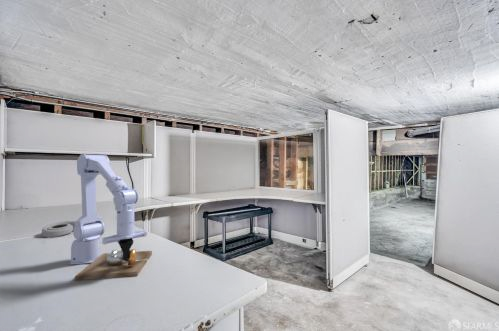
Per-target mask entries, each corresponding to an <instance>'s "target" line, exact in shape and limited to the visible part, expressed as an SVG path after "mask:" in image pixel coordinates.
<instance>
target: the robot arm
mask: <svg viewBox="0 0 499 331" xmlns="http://www.w3.org/2000/svg"><path fill="white" fill-rule="evenodd" d="M110 161H111V160H110V159H109V156H108V155H106V154H102V155H101V154H85V153H82V154H80V155H79V156H78V158H77V161H76V168H77V169H76V170H77V175H78V176H80V189H81V190H80V191H81V211H82V212H81V214H82V215H81V216H80V217H79V218H78V219H76V220H74V221H75V226H74V230H73V231H72V233H73V237H74V239H75V240H73V241H72V243H71V246H70V263H69V265H83V264H91V263H92V262H93V261H94V260H96V259H97V258H98V257H99V256H101V255H102V254H101V251H100V250H101V246H100V244H101V241H100V240H102V245H103V246H104V245H105V246H106V245H108V244H111V243H117V244H118V246H119V247H120V250H121V249H122V252H123V260H124V261H126V260H128V253H129V250H131V248H132V246H133V244H134V239H136V238H142V237H143V238H145V237H147V235H148V234H147V232H148V231H147V230H138V231H135V204H137V202H138V200H139V195H138V192H137V190H136V189H135V188H132V187H129V186H128V185H127V183H126V182H125V181H124V180H123V178H122V176H119V175H116V174H115V172H114V171H113V169H112V168H111V165H110V163H111V162H110ZM98 175H101V176H102V177H103V178H104V179H105V181H106V183H105V186H106V188H107V189H108V190H109V192H110V193H111V194H112V196H113V198H112V201H113V203H114V209H115V211H116V234H114V235H109V236H106V237H102V236H103V235H104V233H105V231H106V226H105V223H104V218H103V217H102V216H100V215H98V210H97V207H98V206H97V188H96V187H97V186H96V177H97V176H98ZM100 238H101V239H100Z"/></svg>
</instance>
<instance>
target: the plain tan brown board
mask: <svg viewBox="0 0 499 331" xmlns="http://www.w3.org/2000/svg"><path fill="white" fill-rule="evenodd" d="M107 253H108V252H107ZM107 253H102V254H100V255H101V256H99V257H98V258H97V259H96V260H94V261H93V262H92V263H88V265H87V266H86V267H84V268H83V269H82V270H81V271H80V272H77V274H76V275H75V276H74V281H87V280H99V279H100V280H102V279H117V278H124V277H125V278H127V277H128V278H129V277H138V276H139V274H140V273H141V272H142V269H143V268H144V267H145V265H146V263H147V262H148V261H149V260H150V258H151V256H152V254H153V251H152V250H142V251H140V250H139V251H136V264H134V265H128V262H126V263H124V264H120V265H108V264H107Z"/></svg>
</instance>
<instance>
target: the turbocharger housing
mask: <svg viewBox="0 0 499 331" xmlns="http://www.w3.org/2000/svg"><path fill="white" fill-rule="evenodd" d="M75 221H76V220H65V221H59V222H54V223H51V224H48V225H46V226H44V227H43V228H42V229H41V236H42V237H43V238H47V237H50V238H57V237H64V236H66V235H70V234H71V233H73V230H74V226H75Z"/></svg>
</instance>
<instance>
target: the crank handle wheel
mask: <svg viewBox="0 0 499 331" xmlns="http://www.w3.org/2000/svg"><path fill="white" fill-rule="evenodd" d="M136 252H137V251H136V249H134V248H133V249H130V250H129V253H128V260H126V261H124V260H123V252H122V249H121V248H120V250H116V249H113V250H111V252H107V264H108V265H120V264H124V263H126V262H128V265H134V264H136Z"/></svg>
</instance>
